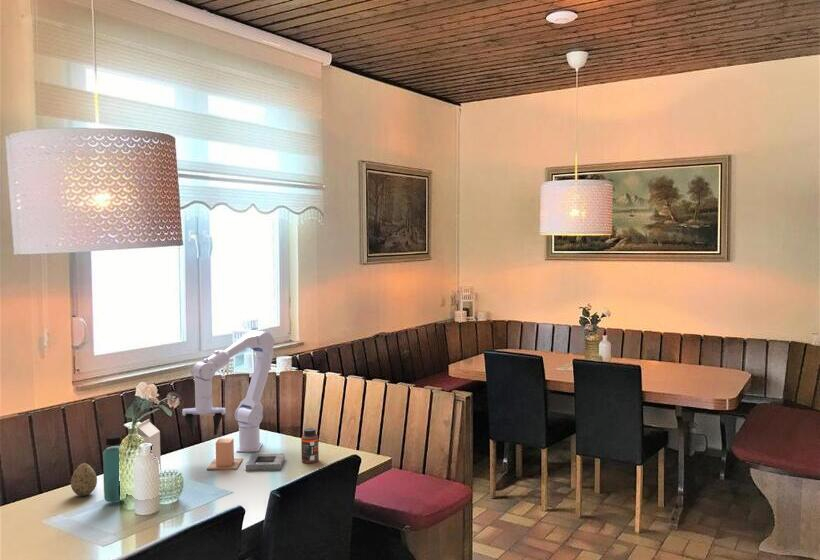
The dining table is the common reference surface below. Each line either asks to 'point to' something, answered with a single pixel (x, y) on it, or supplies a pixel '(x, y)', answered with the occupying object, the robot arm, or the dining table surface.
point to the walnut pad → (232, 467)
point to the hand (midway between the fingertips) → (204, 434)
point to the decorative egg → (83, 480)
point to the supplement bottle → (309, 446)
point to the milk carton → (151, 437)
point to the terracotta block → (225, 452)
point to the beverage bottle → (111, 469)
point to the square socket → (265, 462)
